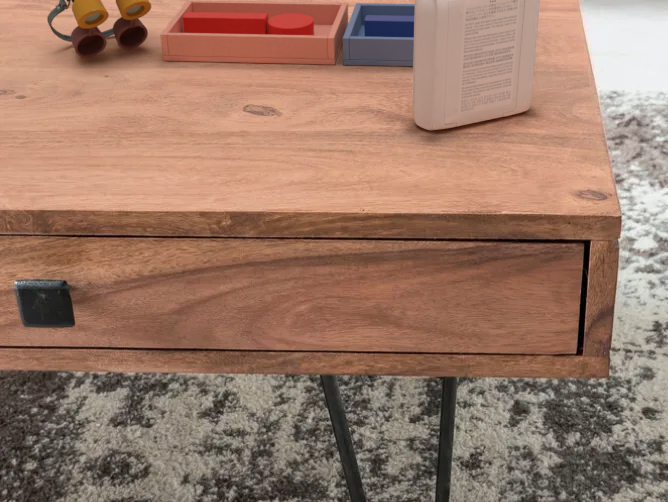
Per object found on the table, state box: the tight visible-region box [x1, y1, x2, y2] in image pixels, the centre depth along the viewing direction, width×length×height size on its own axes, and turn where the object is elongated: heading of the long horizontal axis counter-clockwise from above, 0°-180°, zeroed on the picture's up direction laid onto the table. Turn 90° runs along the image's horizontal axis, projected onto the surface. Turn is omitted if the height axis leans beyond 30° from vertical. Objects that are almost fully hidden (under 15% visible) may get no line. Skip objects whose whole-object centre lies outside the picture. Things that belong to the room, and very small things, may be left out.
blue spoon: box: [364, 15, 414, 37], centre depth 99 cm, size 12×4×2 cm, turn 83°
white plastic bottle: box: [412, 0, 541, 131], centre depth 83 cm, size 10×4×12 cm, turn 116°
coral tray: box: [159, 0, 349, 66], centre depth 101 cm, size 16×10×2 cm, turn 83°
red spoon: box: [183, 12, 314, 36], centre depth 101 cm, size 12×4×2 cm, turn 83°
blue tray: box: [342, 2, 415, 67], centre depth 99 cm, size 16×10×2 cm, turn 83°
